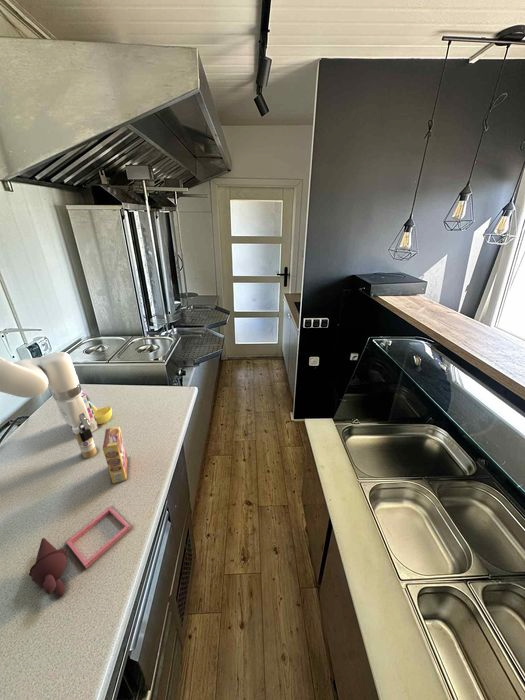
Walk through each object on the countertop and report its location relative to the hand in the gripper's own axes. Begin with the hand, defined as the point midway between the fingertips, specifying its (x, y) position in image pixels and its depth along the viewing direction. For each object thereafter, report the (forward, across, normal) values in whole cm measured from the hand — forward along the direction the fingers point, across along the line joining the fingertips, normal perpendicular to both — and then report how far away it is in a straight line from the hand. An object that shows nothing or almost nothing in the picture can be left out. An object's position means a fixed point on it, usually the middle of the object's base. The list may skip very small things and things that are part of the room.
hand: (83, 435), depth 96 cm
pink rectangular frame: (+9, +31, -13) cm, 35 cm away
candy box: (+9, +16, +2) cm, 18 cm away
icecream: (+9, +30, -24) cm, 39 cm away
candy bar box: (+9, -16, +6) cm, 19 cm away
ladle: (+9, -22, +13) cm, 28 cm away
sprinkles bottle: (+9, 0, 0) cm, 9 cm away
